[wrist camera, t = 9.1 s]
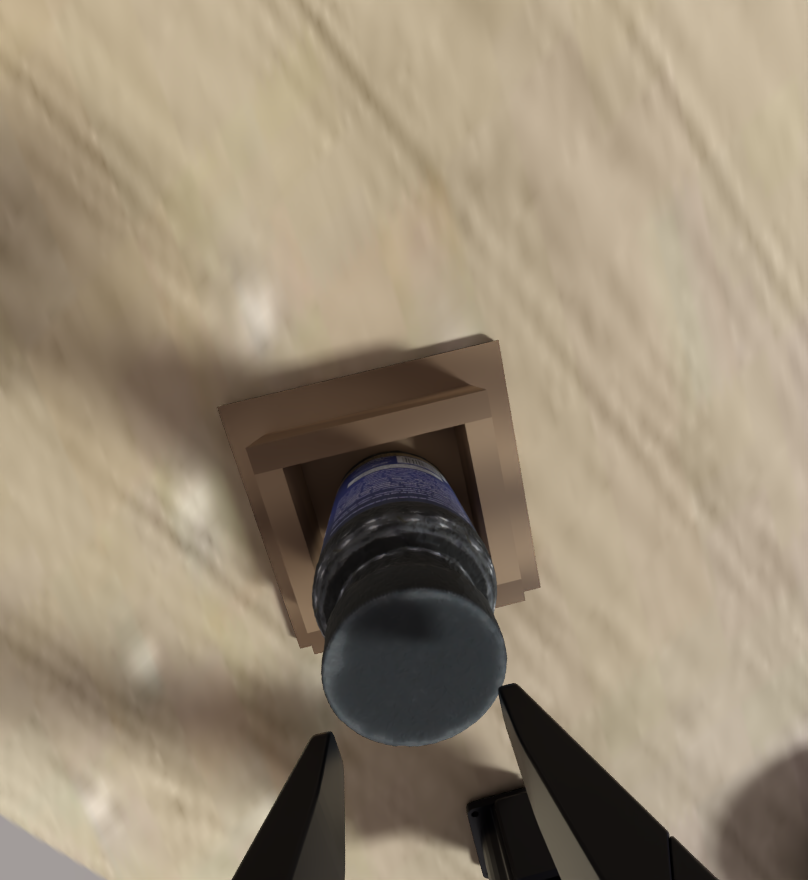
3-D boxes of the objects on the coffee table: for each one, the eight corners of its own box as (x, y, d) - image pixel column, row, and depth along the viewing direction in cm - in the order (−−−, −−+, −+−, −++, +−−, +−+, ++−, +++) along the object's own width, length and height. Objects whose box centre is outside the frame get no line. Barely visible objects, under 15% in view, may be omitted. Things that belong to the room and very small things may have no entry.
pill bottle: (311, 489, 20) (235, 647, 9) (411, 424, 19) (456, 508, 9) (378, 578, 21) (380, 808, 10) (473, 519, 21) (577, 694, 10)
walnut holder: (536, 581, 23) (566, 622, 19) (302, 640, 22) (288, 694, 19) (494, 340, 19) (521, 337, 16) (221, 405, 19) (187, 416, 16)
